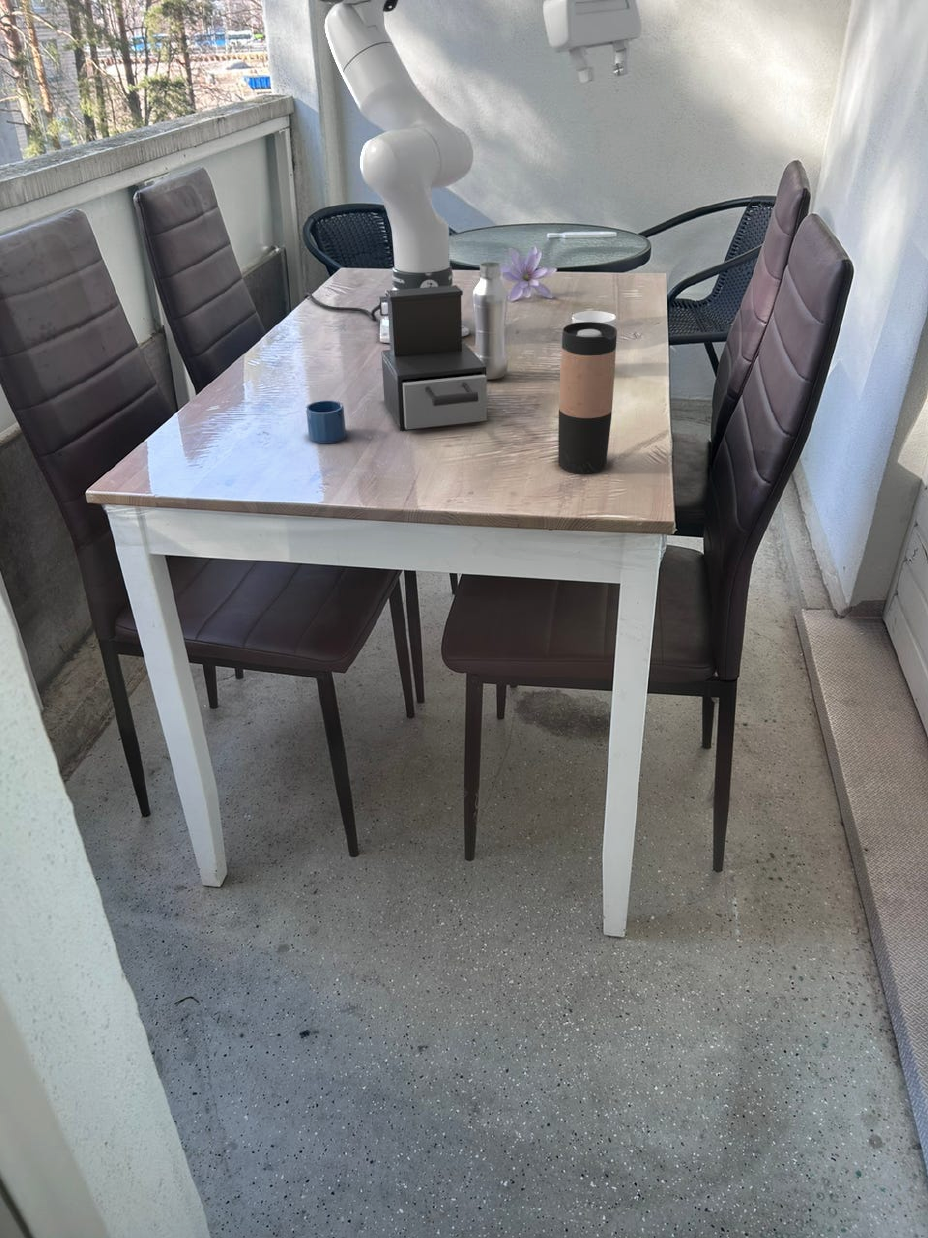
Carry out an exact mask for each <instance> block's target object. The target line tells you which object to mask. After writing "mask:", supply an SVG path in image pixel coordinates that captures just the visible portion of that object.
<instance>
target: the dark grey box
mask: <svg viewBox="0 0 928 1238" xmlns="http://www.w3.org/2000/svg"><path fill="white" fill-rule="evenodd" d="M380 353H381V355H380V356H381V370H382V387H383V398H384V399H383V401H384V404H385V406H386V407H387V409H388V412H389V413H390V415H391V417H392V418H393V420H394V423H395V424H396V425H397V427H398V429H399V431H407V430H409V429H407V430H406V428H405V419H404V402H403V382H402V380H407V379H417V378H427V377H437V376H446V375H456V374H466V373H476V372H477V373H478V375H485V376H486V366H485V365H484V364H483V362H482V361H481V360H480V359H479V358H478V357H477V356H476V355H475V354H474V351H473V350H472V349H471V348H470V347H469V346H468V345H467V344H466V343H465V342H462V350H458V351H447V352H437V353H426V354H416V355H405V356H394V355H393V353H392V352H391V350H390V349H383V350H381V351H380ZM479 422H481V421H479ZM470 423H472V422H470ZM470 423H469V424H470ZM462 424H463V423H461V424H460V425H462ZM452 425H454V424H452ZM452 425H451V426H452ZM444 426H445V425H443V427H444ZM435 427H436V426H434V427H433V428H435ZM425 428H427V427H425ZM425 428H424V429H425ZM416 429H418V428H416ZM416 429H415V430H416Z"/></svg>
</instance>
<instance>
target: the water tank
mask: <svg viewBox="0 0 928 1238" xmlns="http://www.w3.org/2000/svg"><path fill="white" fill-rule="evenodd" d="M384 295H385V296H387V304H388V316H387V317H388V321H389V339H390V343H389V350H391V352H392V353H393V355H394V356H405V355H416V354H426V353H437V352H447V351H458V350H462V343H463V337H462V325H463V319H462V318H463V317H462V296H463V295H464V291H463V290H462V289H461V288H460V286H458V285H457V284H454V285H453V284H452V285H451V286H440V287H428V288H415V289H403V290H392V289H391V290H385V294H384Z"/></svg>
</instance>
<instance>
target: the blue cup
mask: <svg viewBox="0 0 928 1238" xmlns="http://www.w3.org/2000/svg"><path fill="white" fill-rule="evenodd" d="M305 413H306V423H307V431H308V437H309V440H310V442H312V443H316V444H323V445H324V444H325V445H327V444H329V445H330V444H335V443H338V442H341V441H343V440H345V439H346V436H347V434H346V433H347V431H346V418H345V408H344V404H343V403H341V402H340V401H336V400H318V401H314V402H311V403H309V404H307V406H306V407H305Z"/></svg>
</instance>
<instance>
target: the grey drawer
mask: <svg viewBox="0 0 928 1238" xmlns="http://www.w3.org/2000/svg"><path fill="white" fill-rule="evenodd" d="M402 382H403V402H404V419H405V428H406V430H405V431H407V429H408V430H416V428H417V429H425V427H426V428H435V427H442V426H443V425H444V426H452V424H453V425H462V424H470V422H471V423H478V422H479V421H480V422H486V421H487V420H488V379H487V377H486V376H485V375H478V373H477V372H476V373H466V374H456V375H446V376H437V377H427V378H417V379H407V380H402ZM461 423H462V424H461ZM434 426H435V427H434ZM444 426H443V427H444Z"/></svg>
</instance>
